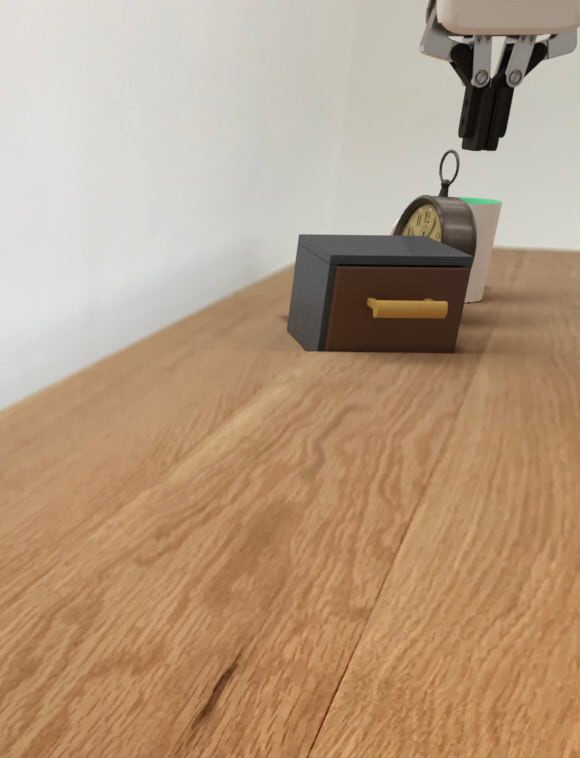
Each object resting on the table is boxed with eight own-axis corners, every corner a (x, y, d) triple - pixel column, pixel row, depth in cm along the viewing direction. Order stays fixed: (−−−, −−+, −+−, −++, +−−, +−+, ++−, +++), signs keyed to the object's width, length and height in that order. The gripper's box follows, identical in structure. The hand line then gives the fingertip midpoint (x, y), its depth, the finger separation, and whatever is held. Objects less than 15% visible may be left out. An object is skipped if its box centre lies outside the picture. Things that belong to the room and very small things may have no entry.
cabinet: (452, 363, 102) (473, 256, 97) (315, 361, 102) (330, 254, 97) (408, 331, 114) (426, 235, 109) (286, 330, 114) (298, 234, 109)
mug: (371, 296, 132) (387, 199, 127) (384, 286, 138) (400, 193, 133) (477, 305, 128) (497, 205, 122) (485, 294, 134) (505, 199, 128)
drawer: (467, 366, 97) (486, 277, 93) (337, 365, 97) (351, 275, 93) (410, 327, 112) (425, 248, 108) (298, 325, 112) (308, 247, 108)
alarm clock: (376, 308, 125) (403, 146, 117) (420, 307, 126) (450, 146, 118) (423, 327, 116) (456, 153, 107) (470, 326, 117) (506, 153, 108)
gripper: (439, -178, 69) (390, 153, 79) (679, -180, 69) (602, 152, 78) (405, -157, 76) (364, 147, 85) (625, -159, 75) (559, 146, 85)
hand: (478, 149), depth 82 cm, fingers closed
